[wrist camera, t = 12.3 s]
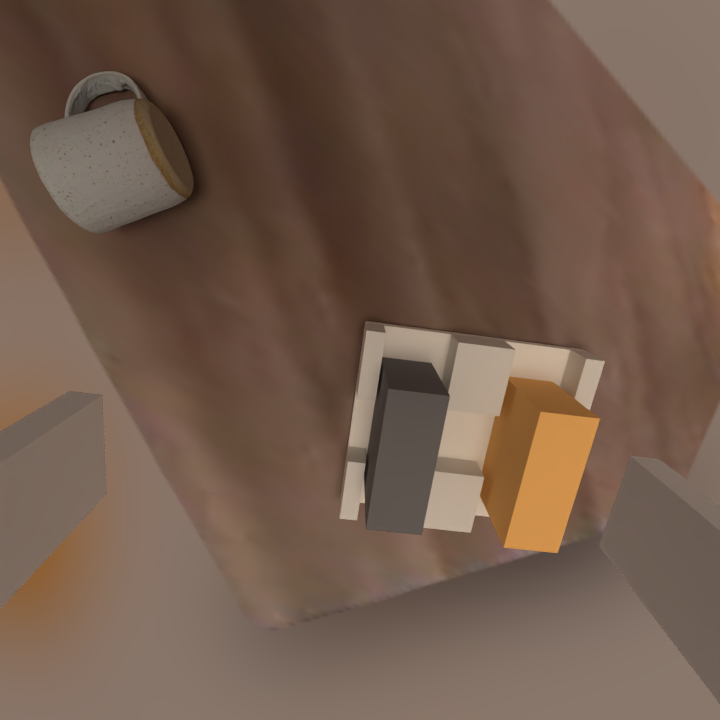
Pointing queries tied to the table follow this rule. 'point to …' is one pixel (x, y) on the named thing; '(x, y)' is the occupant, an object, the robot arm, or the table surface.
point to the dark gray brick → (403, 445)
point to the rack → (457, 406)
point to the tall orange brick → (535, 463)
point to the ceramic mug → (111, 157)
